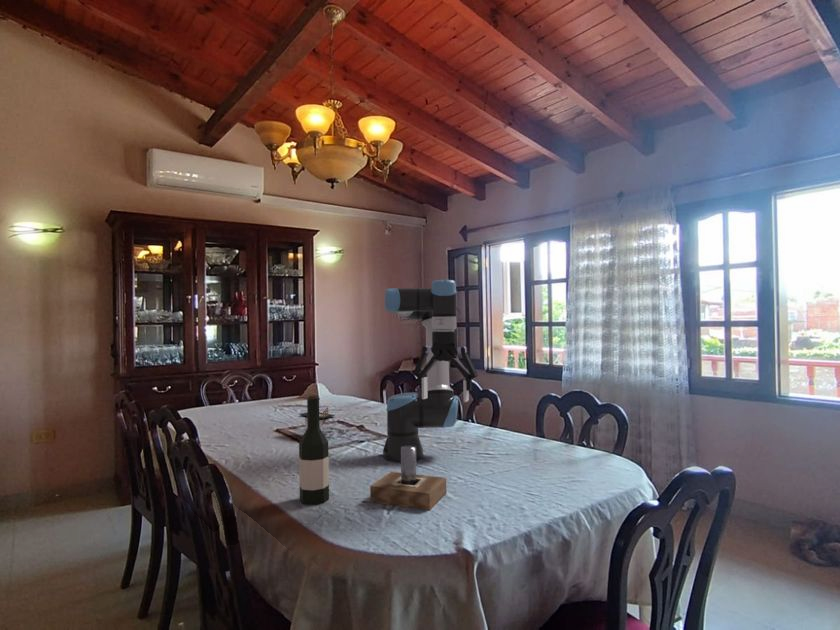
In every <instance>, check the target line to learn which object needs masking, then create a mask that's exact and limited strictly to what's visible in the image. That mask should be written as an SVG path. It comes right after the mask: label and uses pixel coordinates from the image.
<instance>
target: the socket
mask: <svg viewBox="0 0 840 630" xmlns="http://www.w3.org/2000/svg"><path fill="white" fill-rule="evenodd" d="M369 488H370V489H369V491H370V493H369V494H370V503H376V504H381V505H382V504H383V505H388V506H389V505H391V506H398V507H403V508H413V509H420V510H424V511H425V510H427V511H431V510H432V509H433V508H434V507H435V506H436V504H438V503H439V502H440V500H442V498H443V497H444V496H446V494H447V477H441V476H440V477H439V476H433V475H431V476H430V475H424V474H423V475H422V474H416V484H415V485H407V484H401V472H396V471H390V472H389V473H387V474H386V475H384V476H383V477H381V478H379V480H377V481H376V482H374V483H373V484H371V485H370V486H369Z"/></svg>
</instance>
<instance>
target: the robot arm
mask: <svg viewBox="0 0 840 630" xmlns="http://www.w3.org/2000/svg"><path fill="white" fill-rule="evenodd" d="M457 292H458V291H457V285H456V281H455V280H454V279H435V280H432V282H431V287H422V288H421V287H417V288H413V287H412V288H411V287H410V288H406V287H403V288H397V287H394V288H386V289H385V292H384V308H385V311H386V312H392V313H393V314H394V315H396V316H397V317H400V318H403V319H407V320H413V321H415V320H416V321H417V320H418V321H420V320H421V325H422V326H423V327H424V328H425V344H426V345H424V346H422V349H421V354H420V357H419V359H418V361H417V364H416V367H414V370H413V373H412V374H413V375H414V376H416V377H418V387H419V389H421V396H419V394H418V392H414V391H413V392H403V393H398V394H394V395H391V396H390V397H388V399H387V403H386V413H387V414H386V419H387V420H386V425H387V426H386V427H387V429H386V431H387V434H386V435H387V436H386V439H385V442H384V446H383V449H382V458H383V459H385V460H387V461H391V462H400V463H401V447H402V446H407V445H411V446H416V461H417V460H420V459H422V458H423V457H424V448H423V445H422V443H421V440H420V437H419V429H429V428H430V429H431V428H435V429H437V428H439V429H444V428H452V427H455V425H456V423H457V418H458V410H459V409H458V408H459V396H458V395H455V391H454V389H452V387H451V386H450V365H449V362H451V363H453V365H454V366H455V367H456V369H457V370H458V371H459V373H460V374H461V375H462V376H463V378H465V379H464V380H462V381H463V382H462V384H463V390H462V391H463V394H462V395H463V396H462V397H463V403H468V402H469V401H470V392H469V391H472V390H473V389H472V387H473V385H472V384H473V382H472V381H473V379H475V378H477V377H478V376H479V375H478V372H477V370H476V368H475V366H474V363H473V362H472V360H471V358H470V356H469V353H468V348H467V346H462V347H459V346H457V342H458V341H457V339H458V337H457V336H458V334H457V331H456V330H457V326H458V325H457ZM457 353H458V354H460V356H461V357H462V360H463V362H464V364H465V366H466V367H465V366H464V364H463V362H461V361H460V359H459V357H458V356H457ZM425 362H426V364H425ZM424 365H425V366H424Z"/></svg>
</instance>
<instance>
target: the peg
mask: <svg viewBox="0 0 840 630" xmlns="http://www.w3.org/2000/svg"><path fill="white" fill-rule="evenodd" d="M400 473H401V484H407V485H415V484H416V475H417V460H416V446H411V445H407V446H402V447H401V462H400Z"/></svg>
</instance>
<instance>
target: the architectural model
mask: <svg viewBox="0 0 840 630" xmlns="http://www.w3.org/2000/svg"><path fill="white" fill-rule="evenodd" d="M298 417H300V418H304V423H305V424H304V426H305V428H304V429H305V431H306V430H307V428H308V426H307V412H301V413H298ZM335 417H336V415H334V414H330V413H329V406H327V407H326V408H325V409H324V410H323V412H320V411H319V426H320V429H321V431H322V432H323V425H324V424H325V423H326V421H327V420H329V419H334V418H335ZM305 431H304V432H305Z"/></svg>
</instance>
